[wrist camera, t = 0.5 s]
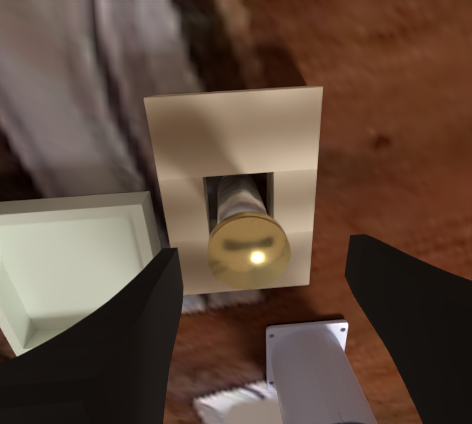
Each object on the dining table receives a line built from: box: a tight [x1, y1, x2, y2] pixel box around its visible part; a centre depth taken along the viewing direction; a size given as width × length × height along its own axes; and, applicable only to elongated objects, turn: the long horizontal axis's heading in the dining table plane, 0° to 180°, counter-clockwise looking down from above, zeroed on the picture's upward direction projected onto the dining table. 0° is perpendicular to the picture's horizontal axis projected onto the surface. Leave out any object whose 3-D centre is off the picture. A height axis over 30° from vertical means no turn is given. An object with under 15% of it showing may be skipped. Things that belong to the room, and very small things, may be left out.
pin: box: [207, 174, 291, 290], centre depth 17 cm, size 4×4×9 cm
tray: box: [0, 191, 161, 356], centre depth 22 cm, size 13×13×2 cm
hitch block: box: [144, 86, 323, 295], centre depth 20 cm, size 14×10×3 cm
